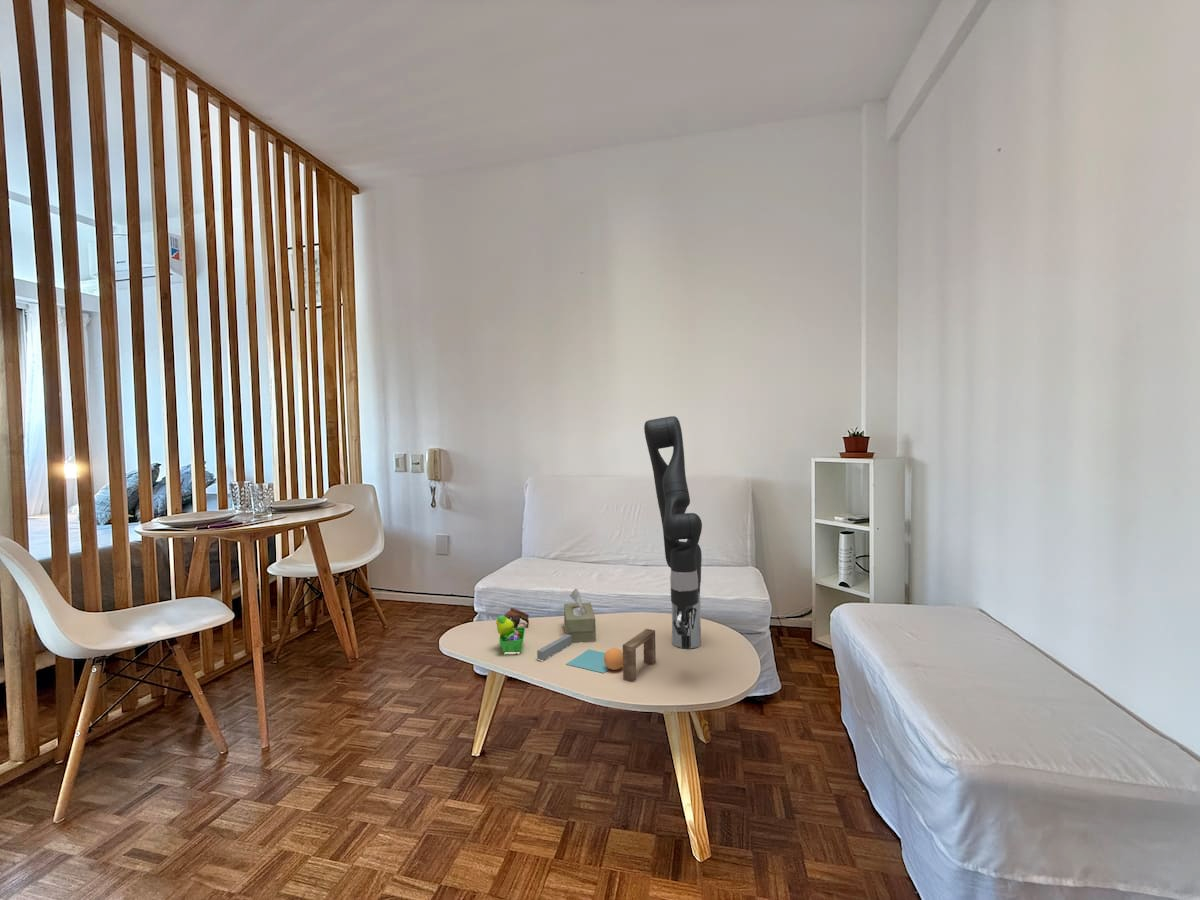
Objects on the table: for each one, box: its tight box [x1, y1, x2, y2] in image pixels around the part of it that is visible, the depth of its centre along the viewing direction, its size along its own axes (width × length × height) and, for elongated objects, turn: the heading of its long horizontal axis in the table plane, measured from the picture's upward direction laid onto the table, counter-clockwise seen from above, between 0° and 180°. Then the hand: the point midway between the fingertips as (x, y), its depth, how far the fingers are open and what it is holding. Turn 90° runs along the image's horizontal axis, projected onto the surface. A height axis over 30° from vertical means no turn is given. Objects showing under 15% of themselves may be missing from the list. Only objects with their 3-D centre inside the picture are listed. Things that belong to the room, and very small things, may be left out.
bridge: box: [622, 628, 657, 683], centre depth 155 cm, size 3×15×10 cm, turn 149°
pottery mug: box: [503, 607, 530, 628], centre depth 192 cm, size 12×10×8 cm
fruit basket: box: [495, 614, 526, 653], centre depth 173 cm, size 11×9×11 cm
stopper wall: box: [536, 634, 573, 660], centre depth 170 cm, size 16×2×3 cm, turn 149°
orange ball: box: [604, 647, 623, 671], centre depth 156 cm, size 6×6×6 cm
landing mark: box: [566, 648, 610, 674], centre depth 163 cm, size 13×13×1 cm
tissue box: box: [563, 588, 597, 644], centre depth 187 cm, size 19×10×16 cm, turn 6°
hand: (686, 647), depth 148 cm, fingers closed
